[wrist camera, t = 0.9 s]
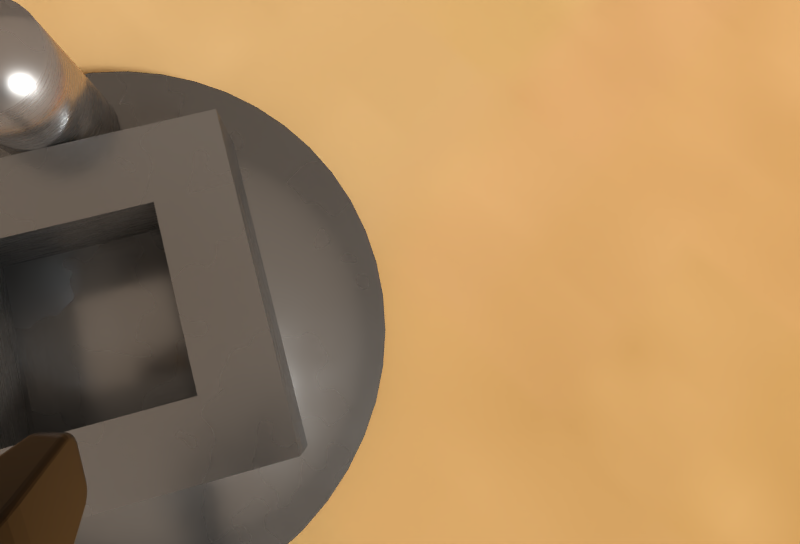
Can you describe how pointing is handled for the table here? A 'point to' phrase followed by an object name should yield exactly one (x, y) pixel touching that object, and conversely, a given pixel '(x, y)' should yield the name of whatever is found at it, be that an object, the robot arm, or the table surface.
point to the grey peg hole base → (177, 300)
